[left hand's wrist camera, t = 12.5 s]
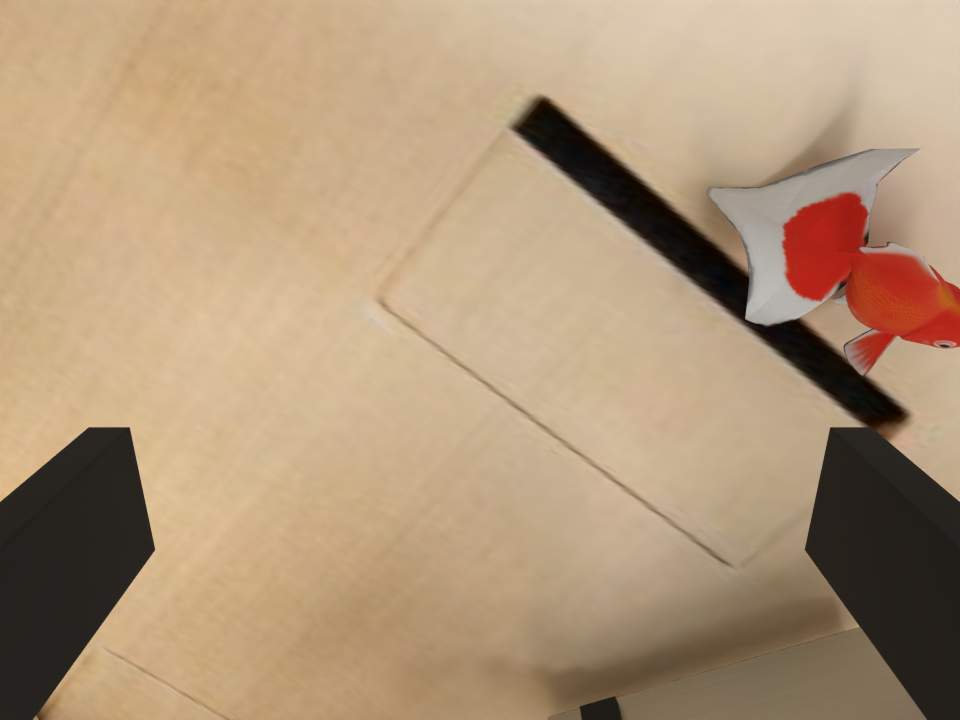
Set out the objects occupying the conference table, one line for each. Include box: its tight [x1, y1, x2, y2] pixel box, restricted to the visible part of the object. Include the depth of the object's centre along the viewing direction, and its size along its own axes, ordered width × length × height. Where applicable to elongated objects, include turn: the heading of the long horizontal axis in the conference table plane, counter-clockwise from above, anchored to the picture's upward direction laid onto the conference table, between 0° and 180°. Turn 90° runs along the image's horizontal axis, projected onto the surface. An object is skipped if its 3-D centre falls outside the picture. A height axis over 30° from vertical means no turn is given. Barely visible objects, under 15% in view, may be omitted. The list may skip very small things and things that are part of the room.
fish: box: [707, 149, 960, 377], centre depth 37 cm, size 11×16×10 cm
